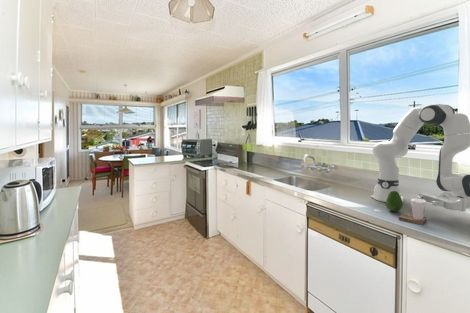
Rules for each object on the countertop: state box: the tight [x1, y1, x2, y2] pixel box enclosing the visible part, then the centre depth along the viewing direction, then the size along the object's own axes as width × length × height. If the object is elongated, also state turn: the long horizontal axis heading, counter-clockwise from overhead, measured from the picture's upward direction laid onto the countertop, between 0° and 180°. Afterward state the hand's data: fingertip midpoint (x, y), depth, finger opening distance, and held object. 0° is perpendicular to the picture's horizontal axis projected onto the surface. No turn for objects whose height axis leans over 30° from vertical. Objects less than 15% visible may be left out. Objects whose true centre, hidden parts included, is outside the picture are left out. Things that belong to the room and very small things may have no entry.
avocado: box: [385, 191, 404, 213], centre depth 143 cm, size 8×8×12 cm
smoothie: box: [410, 191, 427, 220], centre depth 126 cm, size 6×6×14 cm
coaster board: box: [398, 212, 427, 226], centre depth 130 cm, size 10×10×2 cm
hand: (425, 200), depth 130 cm, fingers open, 8 cm apart
